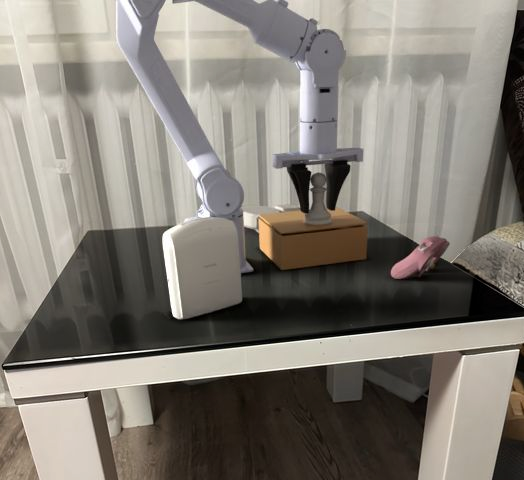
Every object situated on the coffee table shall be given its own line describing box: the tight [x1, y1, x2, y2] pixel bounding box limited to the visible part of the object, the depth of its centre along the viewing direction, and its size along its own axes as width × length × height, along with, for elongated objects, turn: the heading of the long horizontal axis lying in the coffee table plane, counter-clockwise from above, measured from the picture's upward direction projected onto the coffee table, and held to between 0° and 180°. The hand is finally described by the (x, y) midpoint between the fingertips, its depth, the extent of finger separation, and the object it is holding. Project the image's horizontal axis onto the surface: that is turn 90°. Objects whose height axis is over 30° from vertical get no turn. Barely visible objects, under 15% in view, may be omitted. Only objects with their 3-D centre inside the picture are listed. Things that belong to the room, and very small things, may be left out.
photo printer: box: [162, 217, 243, 320], centre depth 71 cm, size 10×4×12 cm, turn 123°
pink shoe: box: [390, 234, 451, 280], centre depth 83 cm, size 10×5×7 cm, turn 143°
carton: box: [258, 213, 369, 271], centre depth 93 cm, size 15×13×6 cm
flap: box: [259, 206, 350, 224], centre depth 95 cm, size 15×6×1 cm, turn 106°
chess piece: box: [304, 172, 332, 226], centre depth 88 cm, size 5×5×8 cm
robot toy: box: [241, 203, 300, 234], centre depth 110 cm, size 12×4×15 cm
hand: (317, 210), depth 88 cm, fingers open, 4 cm apart
